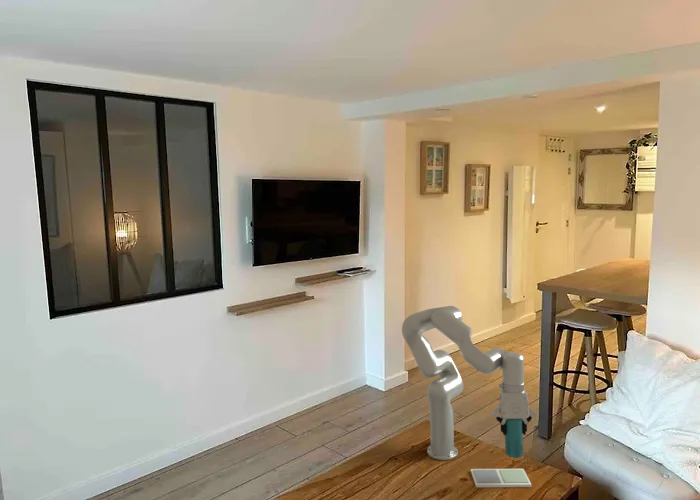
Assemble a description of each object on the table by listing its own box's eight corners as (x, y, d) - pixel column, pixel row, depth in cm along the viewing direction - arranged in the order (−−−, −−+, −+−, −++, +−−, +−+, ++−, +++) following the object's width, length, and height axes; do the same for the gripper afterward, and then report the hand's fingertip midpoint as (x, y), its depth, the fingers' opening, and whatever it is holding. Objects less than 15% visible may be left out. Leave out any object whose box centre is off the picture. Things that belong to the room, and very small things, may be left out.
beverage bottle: (524, 462, 190) (524, 410, 188) (505, 461, 191) (504, 409, 189) (522, 454, 196) (521, 403, 194) (504, 453, 198) (503, 402, 196)
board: (476, 487, 190) (476, 484, 190) (470, 471, 201) (470, 468, 201) (531, 487, 189) (531, 483, 189) (523, 471, 200) (523, 467, 200)
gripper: (491, 391, 188) (492, 438, 189) (540, 390, 187) (540, 437, 189) (487, 383, 195) (488, 429, 197) (534, 382, 194) (534, 428, 196)
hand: (513, 433), depth 193 cm, fingers closed on beverage bottle, 6 cm apart
